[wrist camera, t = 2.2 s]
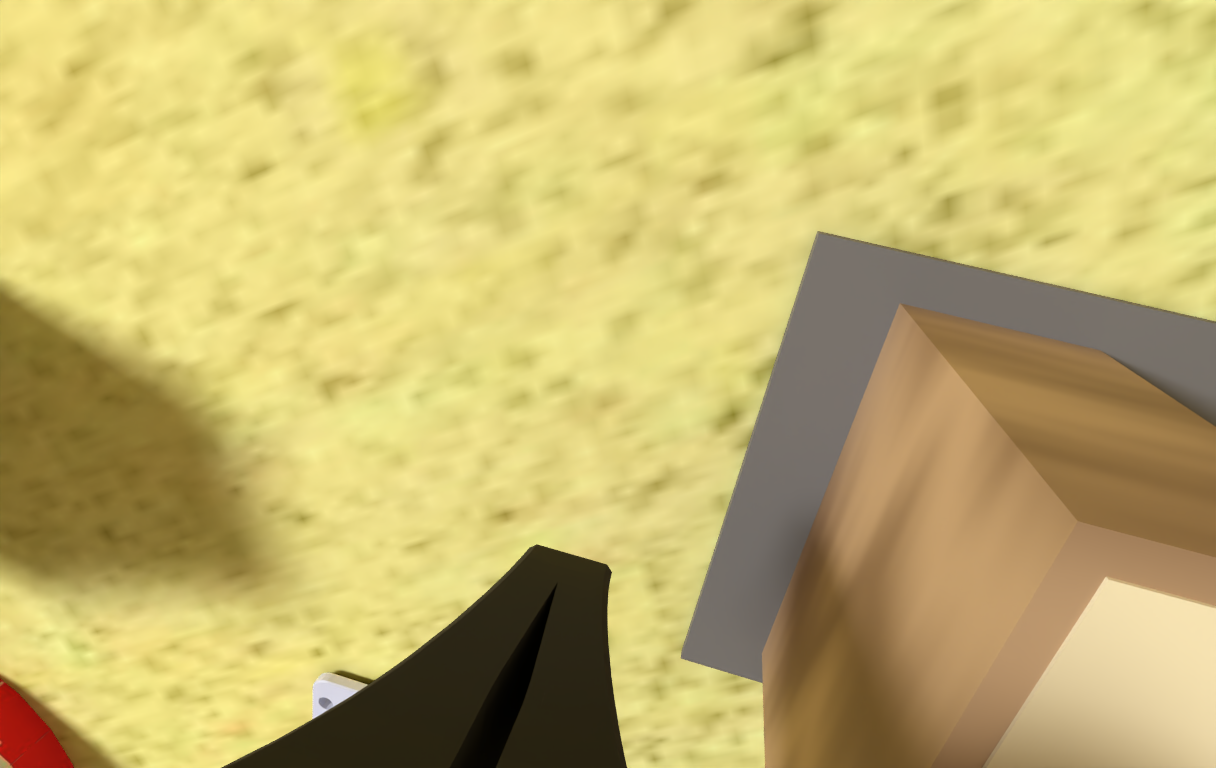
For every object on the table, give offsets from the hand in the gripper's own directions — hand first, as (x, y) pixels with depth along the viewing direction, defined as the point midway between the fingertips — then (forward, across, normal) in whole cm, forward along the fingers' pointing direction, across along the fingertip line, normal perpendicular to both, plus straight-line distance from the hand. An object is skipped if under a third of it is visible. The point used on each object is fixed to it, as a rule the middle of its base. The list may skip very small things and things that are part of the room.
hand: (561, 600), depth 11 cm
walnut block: (+6, -7, 0) cm, 9 cm away
